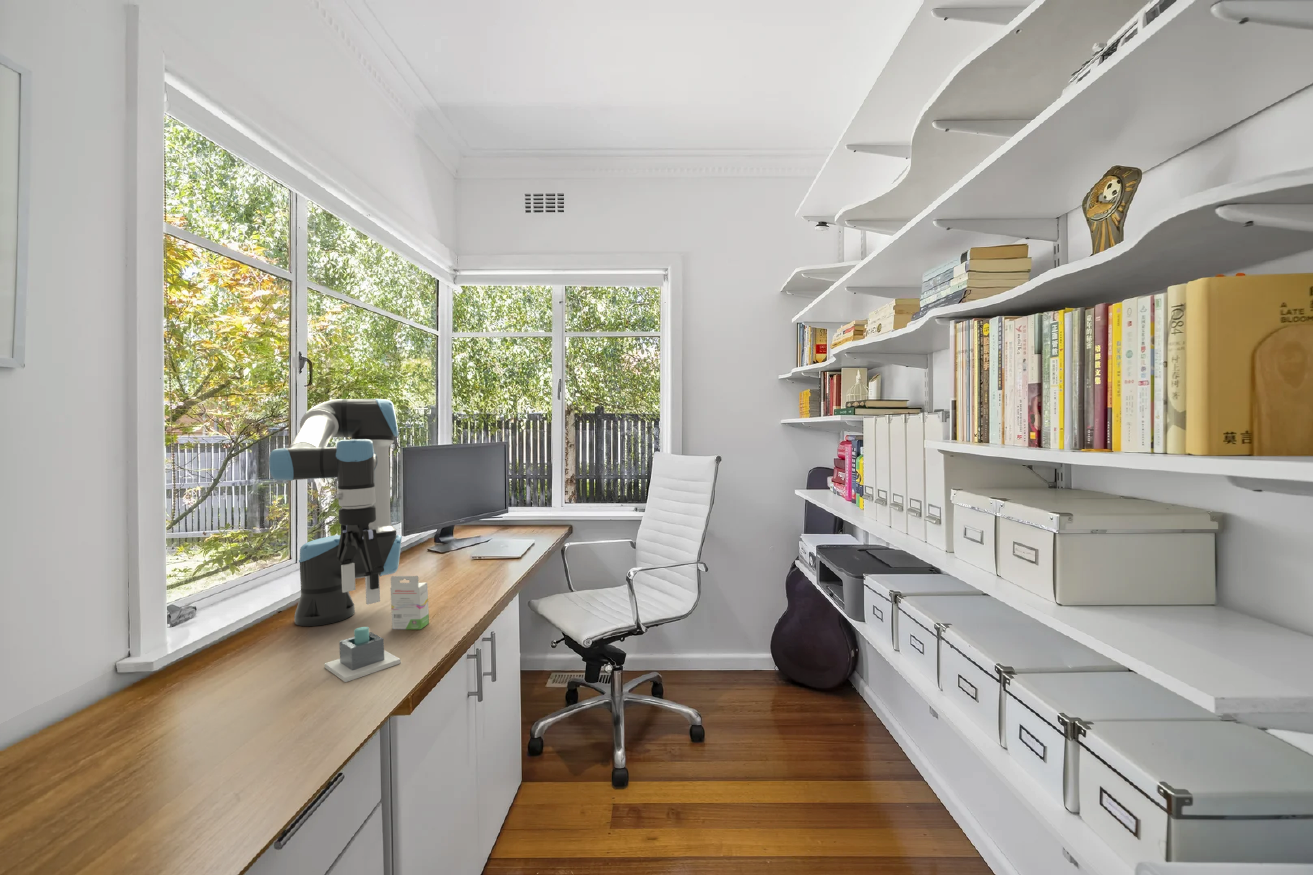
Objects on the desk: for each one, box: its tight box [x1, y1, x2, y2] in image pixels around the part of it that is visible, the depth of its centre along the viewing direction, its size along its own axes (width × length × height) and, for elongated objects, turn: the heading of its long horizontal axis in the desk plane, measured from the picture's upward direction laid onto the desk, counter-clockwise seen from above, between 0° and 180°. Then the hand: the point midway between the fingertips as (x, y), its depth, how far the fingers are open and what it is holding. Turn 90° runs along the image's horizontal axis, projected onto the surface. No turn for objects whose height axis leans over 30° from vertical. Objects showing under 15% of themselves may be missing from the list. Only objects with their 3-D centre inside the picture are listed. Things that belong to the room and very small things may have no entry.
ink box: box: [390, 575, 430, 630], centre depth 152 cm, size 9×5×15 cm, turn 84°
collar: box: [338, 631, 385, 671], centre depth 128 cm, size 7×7×5 cm
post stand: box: [324, 626, 401, 683], centre depth 128 cm, size 12×12×8 cm
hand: (360, 596), depth 128 cm, fingers open, 13 cm apart
